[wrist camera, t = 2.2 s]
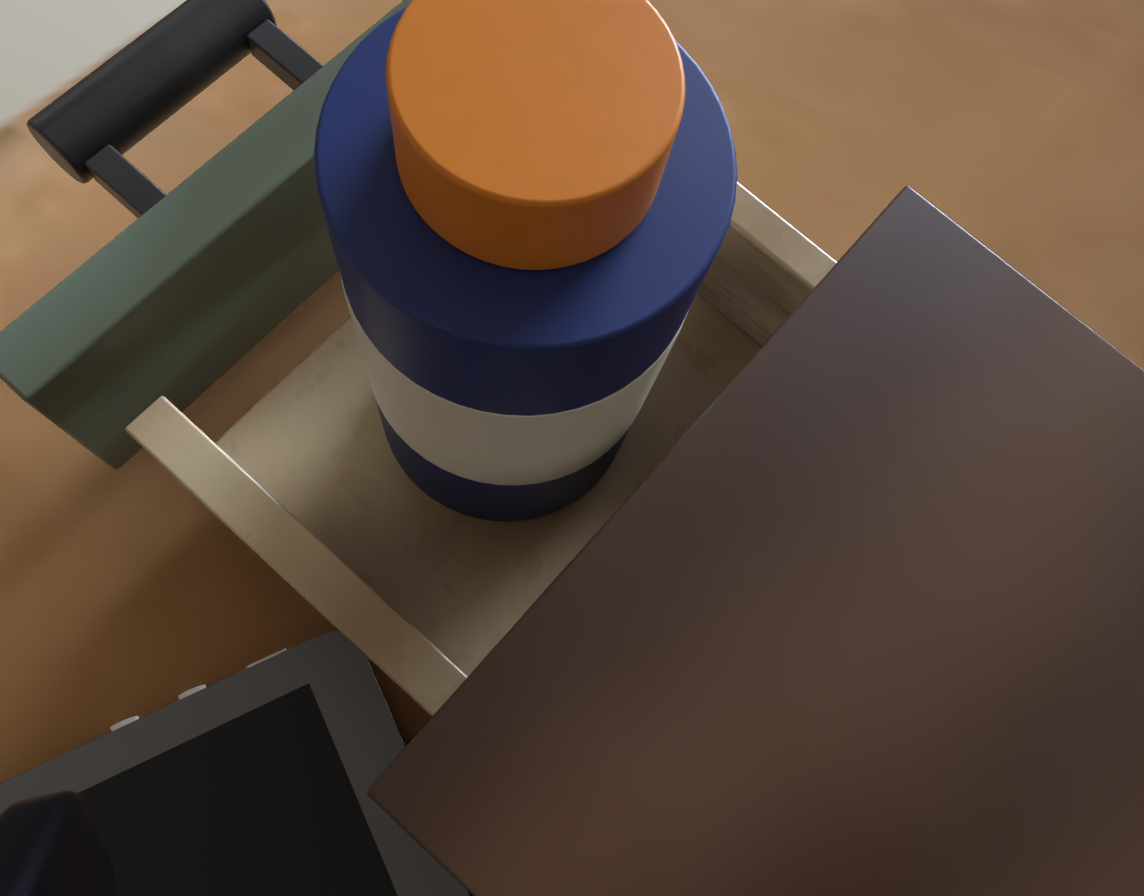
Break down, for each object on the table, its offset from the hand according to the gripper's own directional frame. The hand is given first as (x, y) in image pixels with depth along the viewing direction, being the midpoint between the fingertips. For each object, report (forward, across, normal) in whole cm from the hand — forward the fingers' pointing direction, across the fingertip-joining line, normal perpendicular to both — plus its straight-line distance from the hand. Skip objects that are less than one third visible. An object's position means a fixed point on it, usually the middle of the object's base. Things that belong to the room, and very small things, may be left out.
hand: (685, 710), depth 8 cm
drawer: (+14, +1, +3) cm, 14 cm away
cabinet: (+8, -6, +10) cm, 14 cm away
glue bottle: (+12, 0, +3) cm, 12 cm away
